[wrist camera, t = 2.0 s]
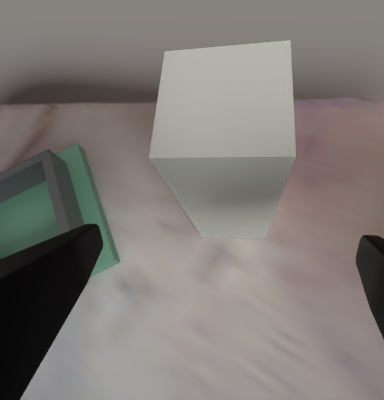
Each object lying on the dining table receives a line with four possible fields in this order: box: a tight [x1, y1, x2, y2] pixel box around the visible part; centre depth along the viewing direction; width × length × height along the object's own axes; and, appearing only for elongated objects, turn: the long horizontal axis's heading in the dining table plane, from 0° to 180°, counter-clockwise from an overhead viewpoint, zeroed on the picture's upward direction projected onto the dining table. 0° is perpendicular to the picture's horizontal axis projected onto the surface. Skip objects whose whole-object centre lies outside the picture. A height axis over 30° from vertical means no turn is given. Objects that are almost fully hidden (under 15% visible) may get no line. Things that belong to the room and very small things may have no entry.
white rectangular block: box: [149, 40, 296, 240], centre depth 16 cm, size 5×5×13 cm
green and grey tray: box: [0, 144, 120, 276], centre depth 22 cm, size 12×12×4 cm
